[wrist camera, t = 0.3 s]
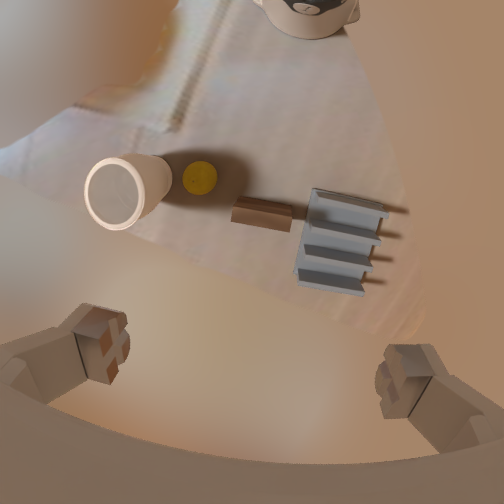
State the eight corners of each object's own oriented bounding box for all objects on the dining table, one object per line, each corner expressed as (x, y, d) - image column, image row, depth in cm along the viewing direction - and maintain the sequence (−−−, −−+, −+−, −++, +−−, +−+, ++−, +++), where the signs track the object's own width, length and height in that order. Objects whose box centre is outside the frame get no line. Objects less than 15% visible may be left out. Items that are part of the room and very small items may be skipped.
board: (239, 196, 54) (233, 206, 46) (290, 205, 54) (292, 217, 46) (237, 209, 55) (230, 221, 47) (288, 218, 55) (289, 232, 47)
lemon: (217, 155, 52) (206, 159, 44) (224, 186, 53) (215, 195, 46) (187, 162, 52) (172, 168, 45) (194, 192, 54) (180, 202, 47)
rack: (312, 187, 52) (316, 194, 47) (381, 203, 52) (392, 212, 46) (293, 271, 58) (294, 286, 53) (358, 283, 58) (365, 298, 52)
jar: (166, 215, 56) (131, 242, 42) (120, 193, 55) (76, 213, 41) (187, 162, 52) (155, 173, 38) (138, 141, 51) (94, 147, 38)
